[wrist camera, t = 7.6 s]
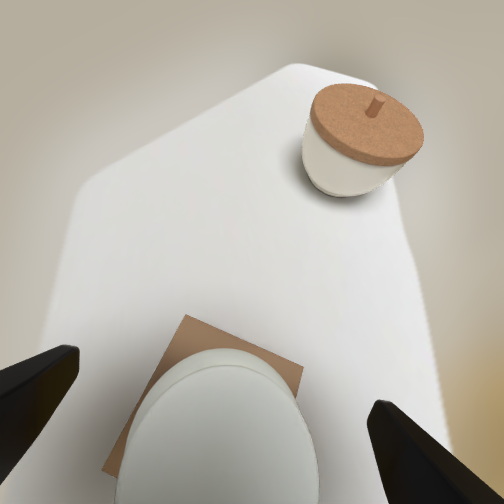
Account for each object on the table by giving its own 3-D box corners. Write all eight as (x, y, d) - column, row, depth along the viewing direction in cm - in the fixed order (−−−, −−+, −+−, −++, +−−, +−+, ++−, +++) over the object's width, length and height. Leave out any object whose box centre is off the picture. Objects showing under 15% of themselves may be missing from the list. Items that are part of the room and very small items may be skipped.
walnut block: (246, 507, 15) (257, 547, 11) (126, 449, 15) (101, 470, 12) (286, 369, 18) (303, 366, 15) (190, 326, 19) (185, 314, 15)
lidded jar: (307, 135, 32) (339, 51, 24) (382, 169, 31) (443, 94, 23) (275, 186, 27) (303, 102, 19) (364, 229, 26) (434, 159, 18)
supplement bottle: (244, 347, 15) (289, 303, 7) (280, 449, 13) (411, 572, 5) (153, 384, 13) (59, 387, 5) (177, 506, 11) (84, 863, 3)
